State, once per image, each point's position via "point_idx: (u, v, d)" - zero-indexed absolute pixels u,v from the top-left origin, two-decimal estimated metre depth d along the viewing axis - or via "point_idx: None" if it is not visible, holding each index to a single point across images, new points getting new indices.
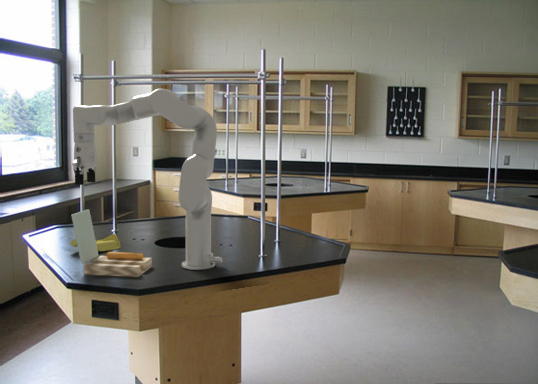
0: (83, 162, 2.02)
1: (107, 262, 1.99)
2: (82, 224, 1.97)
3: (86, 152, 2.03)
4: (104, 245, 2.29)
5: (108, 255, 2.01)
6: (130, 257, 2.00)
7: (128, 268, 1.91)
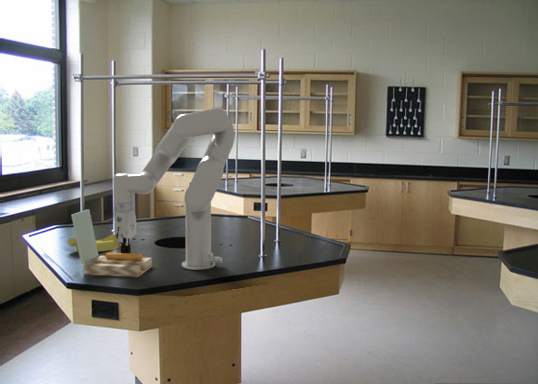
0: (124, 232, 1.96)
1: (107, 262, 1.99)
2: (82, 224, 1.97)
3: (127, 222, 1.97)
4: (101, 245, 2.29)
5: (107, 258, 2.01)
6: (130, 259, 2.00)
7: (128, 268, 1.91)
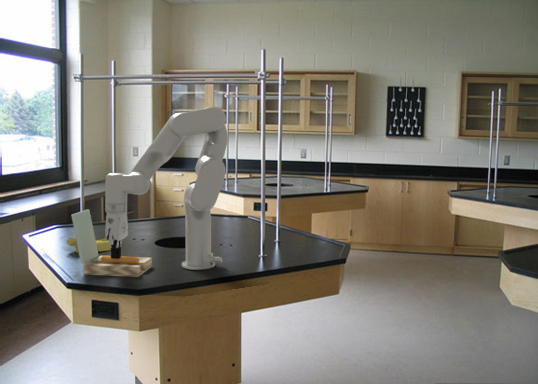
0: (115, 234, 1.90)
1: (107, 262, 1.99)
2: (82, 224, 1.97)
3: (119, 223, 1.90)
4: (100, 245, 2.29)
5: None
6: None
7: (128, 268, 1.91)
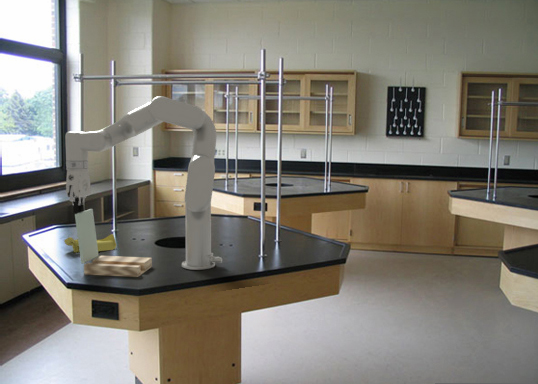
0: (76, 191, 1.92)
1: (107, 262, 1.99)
2: (85, 223, 1.97)
3: (79, 180, 1.93)
4: (98, 245, 2.29)
5: None
6: None
7: (128, 268, 1.91)
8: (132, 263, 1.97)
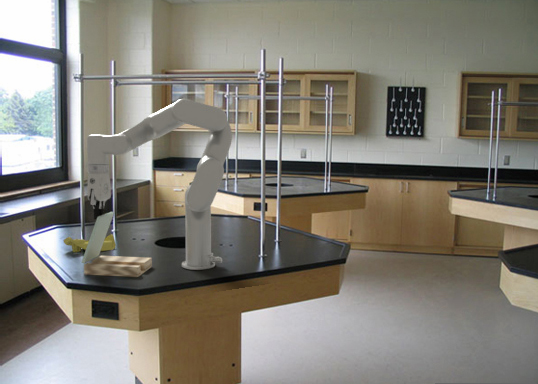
0: (97, 194, 1.91)
1: (107, 262, 1.99)
2: (101, 226, 1.96)
3: (100, 184, 1.92)
4: None
5: None
6: None
7: (128, 268, 1.91)
8: (132, 263, 1.97)
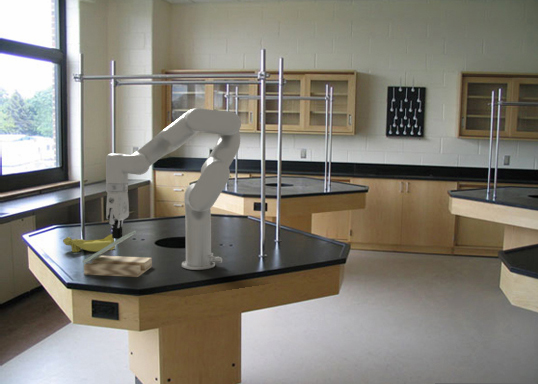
0: (116, 214, 1.91)
1: (107, 262, 1.99)
2: None
3: (119, 203, 1.92)
4: (96, 245, 2.29)
5: None
6: None
7: (128, 268, 1.91)
8: (132, 263, 1.97)
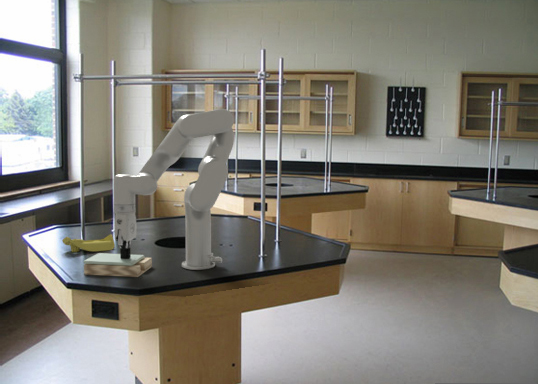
0: (124, 235, 1.92)
1: None
2: None
3: (127, 224, 1.92)
4: (96, 245, 2.28)
5: None
6: None
7: (128, 268, 1.91)
8: None
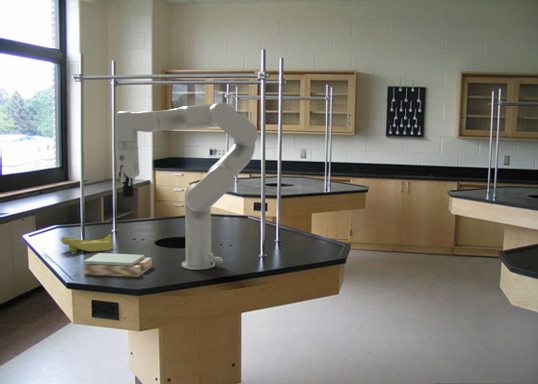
0: (127, 171, 1.92)
1: None
2: None
3: (130, 160, 1.93)
4: (94, 245, 2.29)
5: None
6: None
7: (128, 268, 1.91)
8: None
